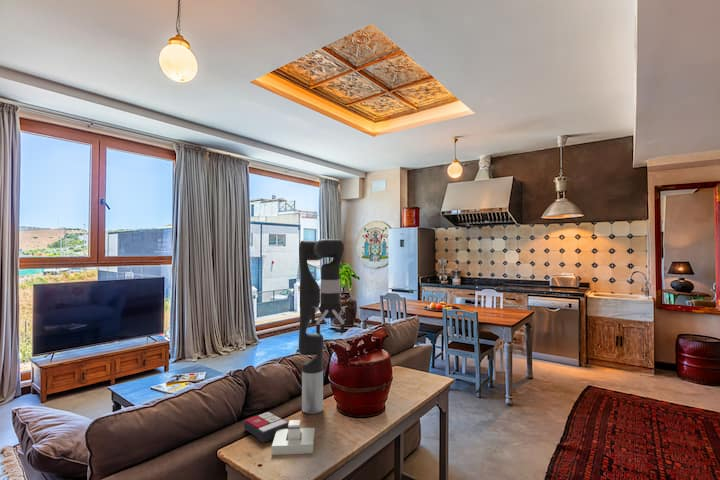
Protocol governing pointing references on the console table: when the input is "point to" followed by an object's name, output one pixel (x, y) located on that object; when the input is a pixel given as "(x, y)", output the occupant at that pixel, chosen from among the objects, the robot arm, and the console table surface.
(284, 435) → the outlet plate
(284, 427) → the dark grey product box
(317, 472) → the console table surface
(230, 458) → the console table surface
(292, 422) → the white rectangular block
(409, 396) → the console table surface
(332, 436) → the console table surface
